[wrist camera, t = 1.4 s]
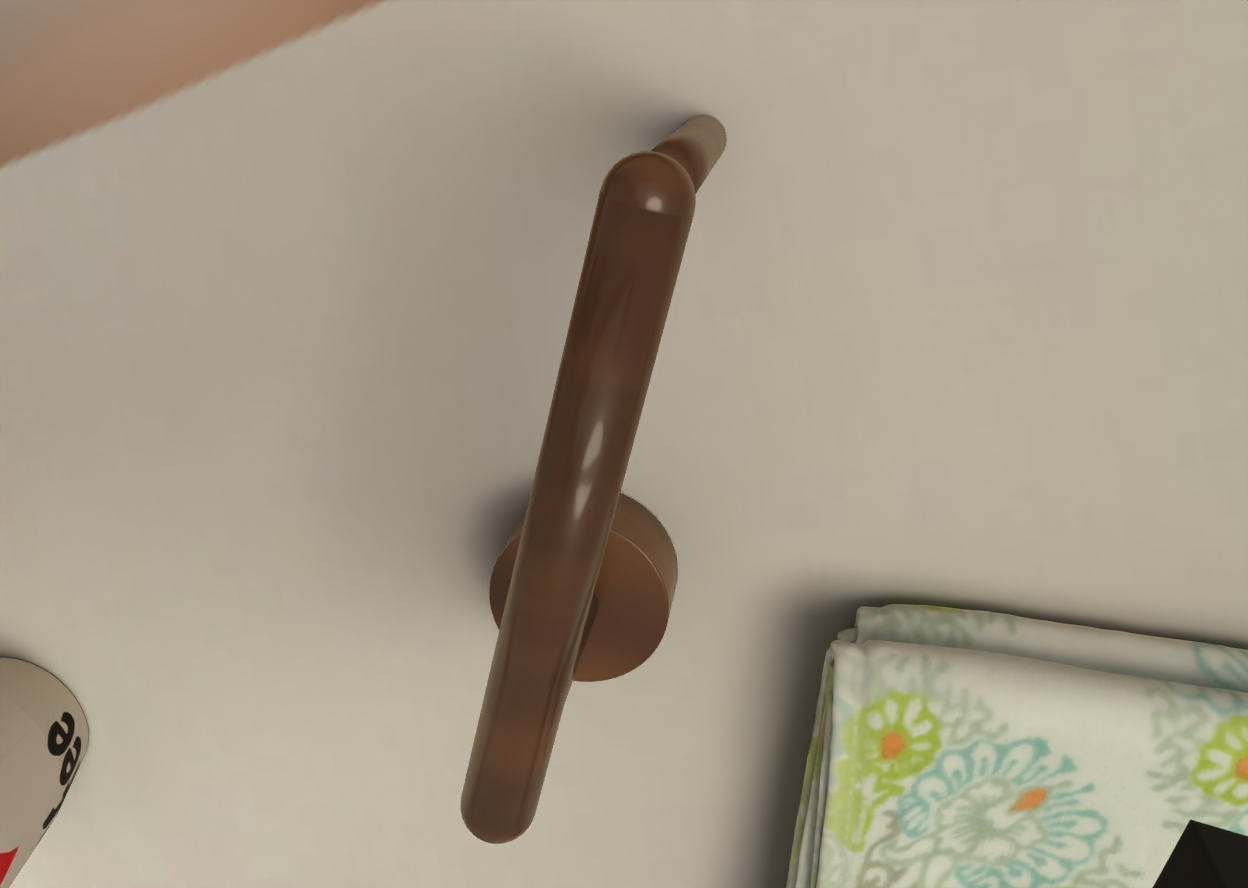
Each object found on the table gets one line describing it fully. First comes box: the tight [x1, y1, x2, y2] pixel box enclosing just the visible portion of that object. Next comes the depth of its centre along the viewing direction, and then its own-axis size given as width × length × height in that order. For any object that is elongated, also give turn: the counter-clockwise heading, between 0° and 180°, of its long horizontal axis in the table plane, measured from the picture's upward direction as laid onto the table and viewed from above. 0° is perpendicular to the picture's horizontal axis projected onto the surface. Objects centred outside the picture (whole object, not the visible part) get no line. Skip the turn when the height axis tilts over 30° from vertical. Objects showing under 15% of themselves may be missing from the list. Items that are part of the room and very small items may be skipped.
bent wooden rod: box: [461, 115, 727, 844], centre depth 26 cm, size 16×5×12 cm, turn 166°
